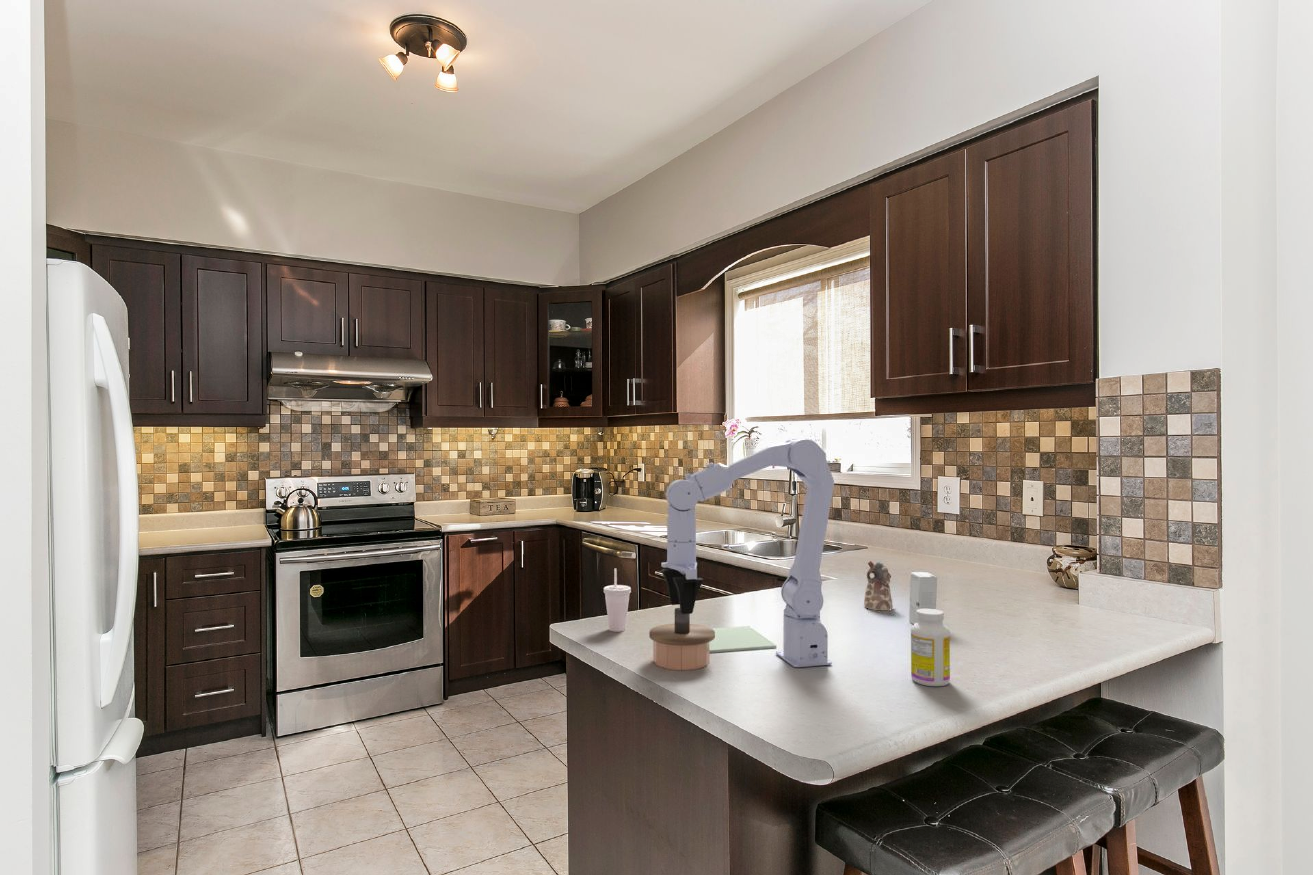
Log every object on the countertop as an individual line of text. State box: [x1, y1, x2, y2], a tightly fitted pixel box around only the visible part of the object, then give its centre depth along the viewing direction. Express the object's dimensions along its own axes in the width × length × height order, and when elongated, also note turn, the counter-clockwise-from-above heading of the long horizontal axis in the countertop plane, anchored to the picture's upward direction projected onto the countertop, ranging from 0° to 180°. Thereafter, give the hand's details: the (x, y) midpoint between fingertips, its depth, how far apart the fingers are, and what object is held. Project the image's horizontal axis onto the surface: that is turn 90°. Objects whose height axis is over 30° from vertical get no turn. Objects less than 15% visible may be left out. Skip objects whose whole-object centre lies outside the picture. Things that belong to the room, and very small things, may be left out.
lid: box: [648, 607, 715, 646], centre depth 145 cm, size 13×13×5 cm
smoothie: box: [603, 568, 632, 633], centre depth 168 cm, size 6×6×14 cm
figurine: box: [863, 560, 894, 611], centre depth 189 cm, size 7×7×12 cm
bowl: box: [652, 640, 710, 671], centre depth 145 cm, size 11×11×5 cm
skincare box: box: [908, 571, 938, 625], centre depth 172 cm, size 6×4×12 cm
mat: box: [709, 625, 777, 654], centre depth 160 cm, size 16×16×1 cm
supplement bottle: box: [910, 608, 951, 687], centre depth 133 cm, size 7×7×13 cm
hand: (681, 608), depth 145 cm, fingers open, 7 cm apart
